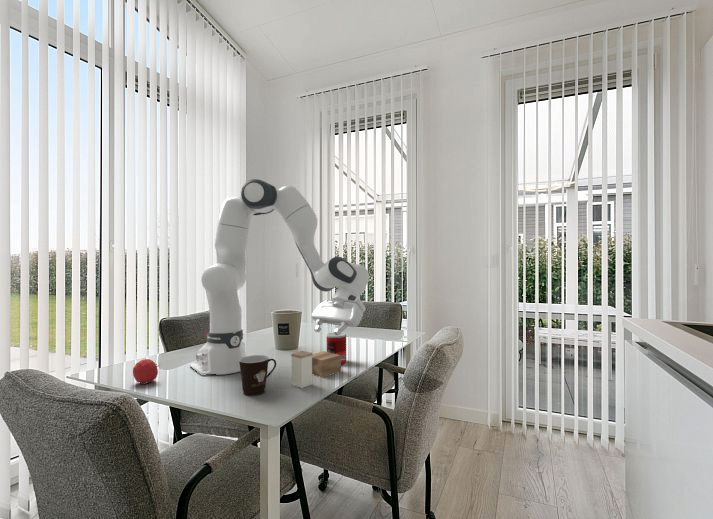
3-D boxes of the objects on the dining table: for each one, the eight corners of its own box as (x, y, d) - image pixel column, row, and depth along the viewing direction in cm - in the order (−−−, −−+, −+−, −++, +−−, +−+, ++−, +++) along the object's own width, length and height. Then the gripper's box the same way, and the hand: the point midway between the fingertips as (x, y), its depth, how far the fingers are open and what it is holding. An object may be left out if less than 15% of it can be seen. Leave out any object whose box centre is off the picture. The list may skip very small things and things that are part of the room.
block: (305, 372, 128) (305, 355, 128) (324, 367, 134) (323, 351, 134) (321, 378, 121) (321, 360, 121) (340, 371, 128) (340, 355, 128)
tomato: (132, 359, 114) (156, 350, 120) (126, 371, 118) (150, 361, 124) (143, 381, 112) (167, 370, 118) (137, 391, 116) (160, 380, 122)
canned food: (347, 359, 143) (347, 332, 143) (345, 365, 135) (344, 336, 135) (328, 359, 144) (328, 332, 144) (325, 365, 136) (324, 336, 136)
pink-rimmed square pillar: (291, 385, 114) (291, 353, 114) (302, 381, 118) (302, 350, 118) (301, 388, 111) (301, 355, 111) (312, 384, 115) (312, 352, 115)
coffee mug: (240, 399, 102) (240, 364, 102) (237, 389, 110) (237, 357, 110) (281, 393, 107) (281, 359, 107) (275, 384, 115) (275, 353, 115)
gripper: (319, 295, 136) (300, 324, 128) (362, 297, 124) (344, 330, 116) (327, 305, 140) (309, 334, 132) (369, 309, 127) (352, 341, 119)
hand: (326, 332), depth 124 cm, fingers open, 8 cm apart
